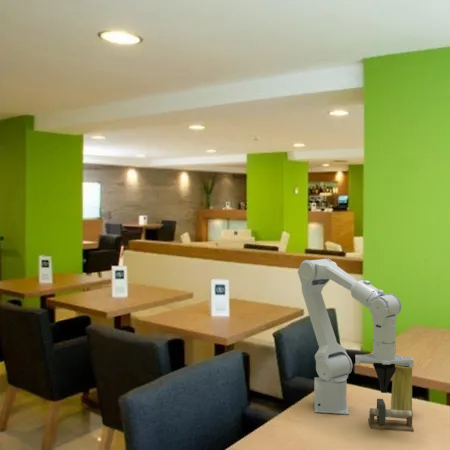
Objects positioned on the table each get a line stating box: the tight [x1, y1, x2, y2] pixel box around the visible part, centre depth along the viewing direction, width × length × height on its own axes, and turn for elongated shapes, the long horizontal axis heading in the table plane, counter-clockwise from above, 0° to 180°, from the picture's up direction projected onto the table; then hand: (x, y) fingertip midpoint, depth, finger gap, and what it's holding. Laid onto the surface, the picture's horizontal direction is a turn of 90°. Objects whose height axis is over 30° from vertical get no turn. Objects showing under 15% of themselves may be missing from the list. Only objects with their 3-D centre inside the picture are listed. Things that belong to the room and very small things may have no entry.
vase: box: [390, 365, 414, 416], centre depth 142 cm, size 6×6×14 cm
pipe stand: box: [367, 407, 414, 432], centre depth 134 cm, size 11×5×4 cm, turn 81°
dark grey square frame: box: [376, 398, 386, 424], centre depth 134 cm, size 2×4×5 cm, turn 171°
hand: (383, 391), depth 131 cm, fingers closed
